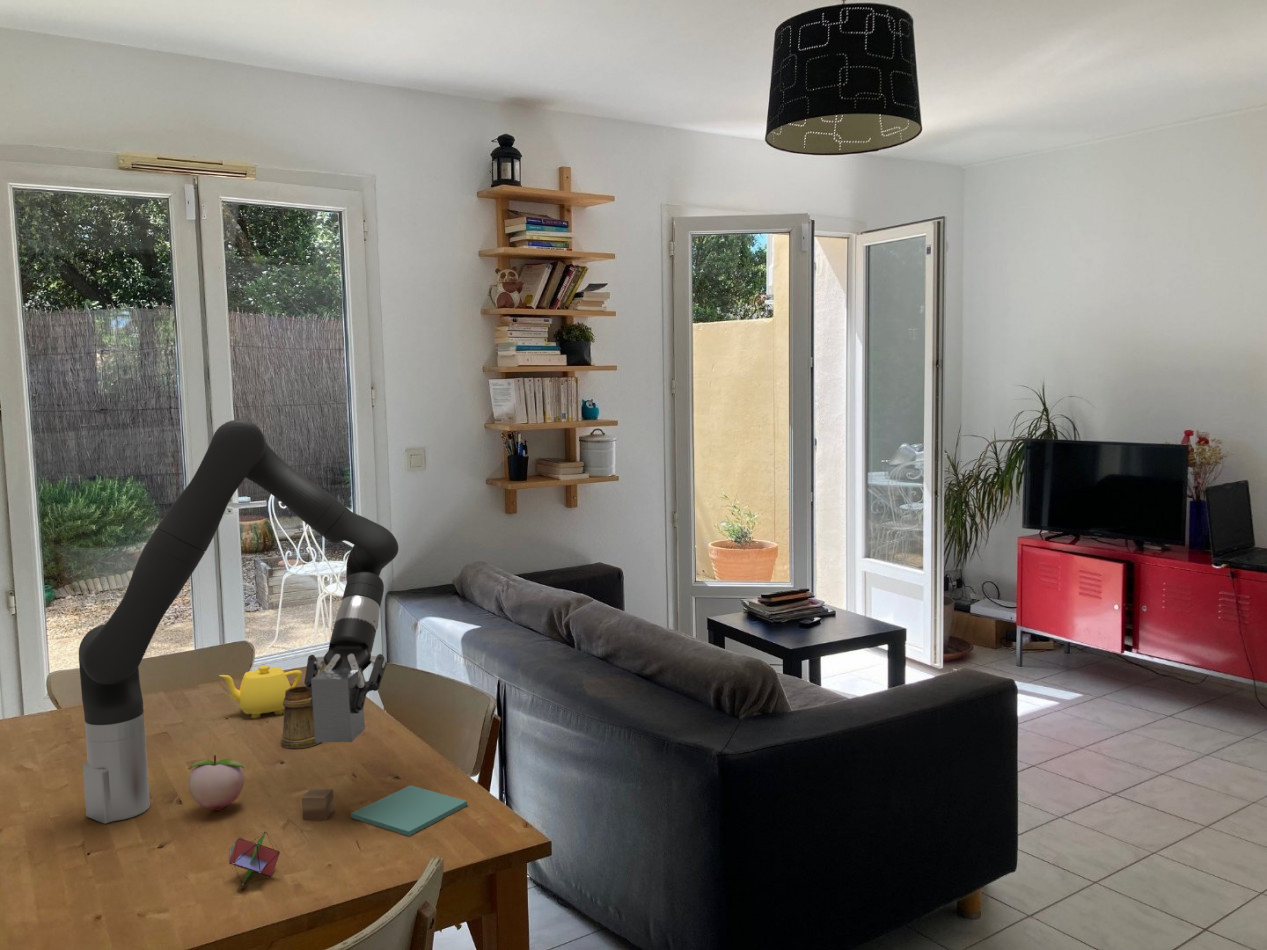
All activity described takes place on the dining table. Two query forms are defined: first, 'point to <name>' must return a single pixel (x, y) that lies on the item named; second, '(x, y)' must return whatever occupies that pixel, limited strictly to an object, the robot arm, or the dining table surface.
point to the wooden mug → (298, 718)
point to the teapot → (262, 690)
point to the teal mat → (409, 810)
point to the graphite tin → (336, 706)
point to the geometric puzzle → (253, 857)
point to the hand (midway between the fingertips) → (335, 711)
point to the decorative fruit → (216, 782)
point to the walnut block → (317, 804)
